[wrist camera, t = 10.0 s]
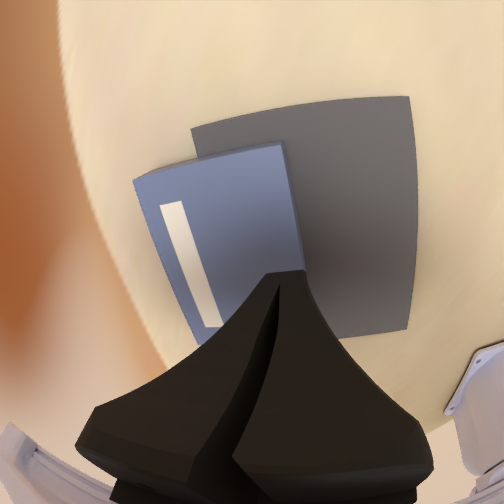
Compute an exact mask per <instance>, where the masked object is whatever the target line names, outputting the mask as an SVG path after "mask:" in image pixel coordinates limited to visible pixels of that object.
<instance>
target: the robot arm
mask: <svg viewBox="0 0 504 504" xmlns="http://www.w3.org/2000/svg"><path fill="white" fill-rule="evenodd" d="M452 414H453V417H454V421H455V425H456V430H457V434H458V439H459V444H460V449H461V454H462V459H463V463H464V465H465V467H466V469H467V470H468V471H469V472H470V473H472V474H473V475H475V476H481V477H480V478H477V479H476V486H475V487H474V488H473V490H472V491H471V493H470V495H469V497H467V498H465V499H463V500H460V501H458V502H454V503H452V504H504V342H502V343H499V344H496V345H493V346H490V347H487V348H484V349H480V350H478V351H477V352H476V353H475V354H474V357H473V359H472V361H471V363H470V365H469V367H468V369H467V371H466V373H465V375H464V377H463V379H462V381H461V383H460V385H459V387H458V389H457V390H456V392H455V394H454V396H453V398H452V399H451V401H450V403H449V404H448V406H447V408H446V409H445V411H444V415H445V416H448V415H452ZM75 447H76V450H77V451H78V452H79V453H80V454H81V455H82V456H83V457H84V458H86V459H87V460H89V461H90V462H92V463H93V464H94V465H96V466H97V467H99V468H100V469H102V470H104V471H105V472H107V473H108V474H110V475H112V476H113V477H115V478H117V481H116V483H115V486H114V488H113V487H111V486H109V485H107V484H105V483H102V482H100V481H98V480H96V479H94V478H92V477H90V476H89V475H87V474H84V473H83V472H81V471H79V470H77V469H76V468H74V467H72V466H70V465H69V464H67V463H65V462H64V461H62V460H60V459H59V458H57V457H56V456H54V455H53V454H51V453H49V452H48V451H46V450H45V449H43V448H42V447H41V446H39V445H38V444H37V443H36V442H35V441H34V440H32V439H31V438H30V437H29V436H28V435H26V434H25V433H24V432H23V431H21V430H20V429H19V428H18V427H16V426H15V425H14V424H12V423H11V422H9V423H8V425H7V426H6V428H5V430H4V431H3V433H2V435H1V436H0V481H1V482H2V484H3V485H4V487H5V489H6V490H7V492H8V494H9V496H10V498H11V499H12V501H13V503H14V504H413V503H415V502H416V501H417V490H416V487H417V486H418V485H419V484H420V483H422V482H423V481H424V480H425V479H426V478H428V476H429V475H430V474H431V473H432V471H433V470H434V466H433V457H432V453H431V450H430V446H429V443H428V441H427V438H426V436H425V433H424V431H423V429H422V427H421V425H420V423H419V421H418V420H416V419H415V418H414V417H413V416H411V415H410V414H409V413H408V412H406V411H405V410H404V409H403V408H402V407H400V406H399V405H398V404H397V403H396V402H395V401H394V400H392V399H391V398H390V397H389V396H388V395H387V394H386V393H385V392H384V391H383V390H382V389H381V388H380V387H379V386H378V385H376V384H375V383H374V381H373V380H372V379H371V378H370V377H369V376H368V375H367V374H366V373H365V372H364V371H363V370H362V368H361V367H360V366H359V365H358V364H357V363H356V362H355V361H354V360H353V358H352V357H351V356H350V355H349V353H348V352H347V351H346V350H345V348H344V347H343V346H342V344H341V343H340V342H339V340H338V339H337V337H336V336H335V334H334V333H333V332H332V330H331V328H330V327H329V325H328V324H327V322H326V320H325V319H324V317H323V315H322V313H321V312H320V310H319V308H318V306H317V304H316V302H315V300H314V298H313V295H312V293H311V291H310V288H309V285H308V281H307V274H306V272H305V271H304V270H303V269H302V270H292V271H283V272H273V273H266V274H265V275H264V276H263V278H262V279H261V280H260V281H259V283H258V284H257V285H256V287H255V288H254V289H253V291H252V292H251V293H250V294H249V296H248V297H247V298H246V299H245V301H244V302H243V303H242V304H241V306H240V307H239V308H238V309H237V310H236V312H235V313H234V314H233V315H232V316H231V317H230V318H229V319H228V320H227V321H226V322H225V324H224V325H223V326H222V327H221V328H220V329H219V330H218V331H217V332H216V333H215V334H214V335H213V336H212V337H210V338H209V339H208V340H207V341H206V342H205V343H204V344H202V345H201V346H200V347H199V348H198V349H197V350H195V351H194V352H193V353H192V354H190V355H189V356H188V357H186V358H185V359H183V360H182V361H181V362H179V363H178V364H176V365H175V366H174V367H172V368H171V369H169V370H168V371H167V372H165V373H163V374H162V375H160V376H159V377H157V378H155V379H154V380H152V381H150V382H148V383H147V384H145V385H143V386H141V387H139V388H138V389H135V390H134V391H132V392H130V393H127V394H125V395H123V396H121V397H118V398H116V399H114V400H111V401H109V402H107V403H104V404H102V405H100V406H97V407H95V408H94V410H93V412H92V414H91V416H90V418H89V419H88V421H87V423H86V425H85V427H84V429H83V431H82V432H81V434H80V436H79V438H78V440H77V442H76V444H75Z"/></svg>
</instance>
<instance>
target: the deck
mask: <svg viewBox="0 0 504 504" xmlns="http://www.w3.org/2000/svg"><path fill="white" fill-rule="evenodd" d="M132 181H133V184H134V187H135V190H136V193H137V196H138V199H139V202H140V205H141V208H142V211H143V214H144V217H145V219H146V222H147V225H148V228H149V230H150V233H151V236H152V238H153V241H154V244H155V246H156V249H157V252H158V254H159V257H160V259H161V262H162V264H163V267H164V269H165V272H166V274H167V276H168V279H169V281H170V284H171V286H172V288H173V291H174V293H175V295H176V298H177V300H178V302H179V304H180V307H181V309H182V311H183V313H184V316H185V318H186V320H187V322H188V324H189V326H190V329H191V331H192V333H193V335H194V337H195V339H196V341H197V343H198V345H202V344H204V343H205V342H206V341H207V340H208V339H209V338H210V337H212V336H213V335H214V334H215V333H216V332H217V331H218V330H219V329H220V328H221V327H222V326H223V325H224V324H225V322H226V321H227V320H228V319H229V318H230V317H231V316H232V315H233V314H234V313H235V312H236V310H237V309H238V308H239V307H240V306H241V304H242V303H243V302H244V301H245V299H246V298H247V297H248V296H249V294H250V293H251V292H252V291H253V289H254V288H255V287H256V285H257V284H258V283H259V281H260V280H261V279H262V278H263V276H264V275H265V274H266V273H273V272H283V271H292V270H302V269H303V270H304V271H305V272H306V266H305V259H304V252H303V246H302V239H301V233H300V227H299V221H298V215H297V209H296V203H295V198H294V192H293V186H292V181H291V176H290V170H289V165H288V160H287V155H286V150H285V145H284V140H281V141H275V142H269V143H264V144H258V145H253V146H248V147H243V148H238V149H234V150H229V151H225V152H220V153H216V154H212V155H208V156H203V157H199V158H195V159H192V160H188V161H184V162H180V163H177V164H173V165H169V166H166V167H162V168H159V169H156V170H152V171H150V172H148V173H146V174H144V175H142V176H140V177H138V178H136V179H134V180H132ZM306 274H307V273H306ZM307 281H308V280H307Z"/></svg>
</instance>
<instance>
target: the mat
mask: <svg viewBox="0 0 504 504" xmlns="http://www.w3.org/2000/svg"><path fill="white" fill-rule="evenodd" d="M191 133H192V137H193V141H194V144H195V148H196V152H197V156H198V158H199V157H203V156H208V155H212V154H216V153H220V152H225V151H229V150H234V149H238V148H243V147H248V146H253V145H258V144H264V143H269V142H275V141H281V140H284V145H285V150H286V155H287V160H288V165H289V170H290V176H291V181H292V186H293V192H294V198H295V203H296V209H297V215H298V221H299V227H300V233H301V239H302V246H303V252H304V259H305V266H306V273H307V280H308V285H309V288H310V291H311V293H312V295H313V298H314V300H315V302H316V304H317V306H318V308H319V310H320V312H321V313H322V315H323V317H324V319H325V320H326V322H327V324H328V325H329V327H330V328H331V330H332V332H333V333H334V334H335V336H336V337H337V339H340V338H349V337H357V336H365V335H373V334H380V333H386V332H393V331H399V330H405V329H407V325H408V319H409V313H410V307H411V300H412V292H413V284H414V275H415V264H416V251H417V232H418V179H417V160H416V147H415V137H414V128H413V120H412V112H411V106H410V99H409V96H395V97H369V98H354V99H343V100H333V101H324V102H316V103H308V104H301V105H295V106H289V107H283V108H277V109H272V110H266V111H261V112H256V113H252V114H247V115H242V116H238V117H234V118H229V119H225V120H221V121H217V122H214V123H210V124H206V125H203V126H199V127H195V128H192V129H191Z"/></svg>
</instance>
